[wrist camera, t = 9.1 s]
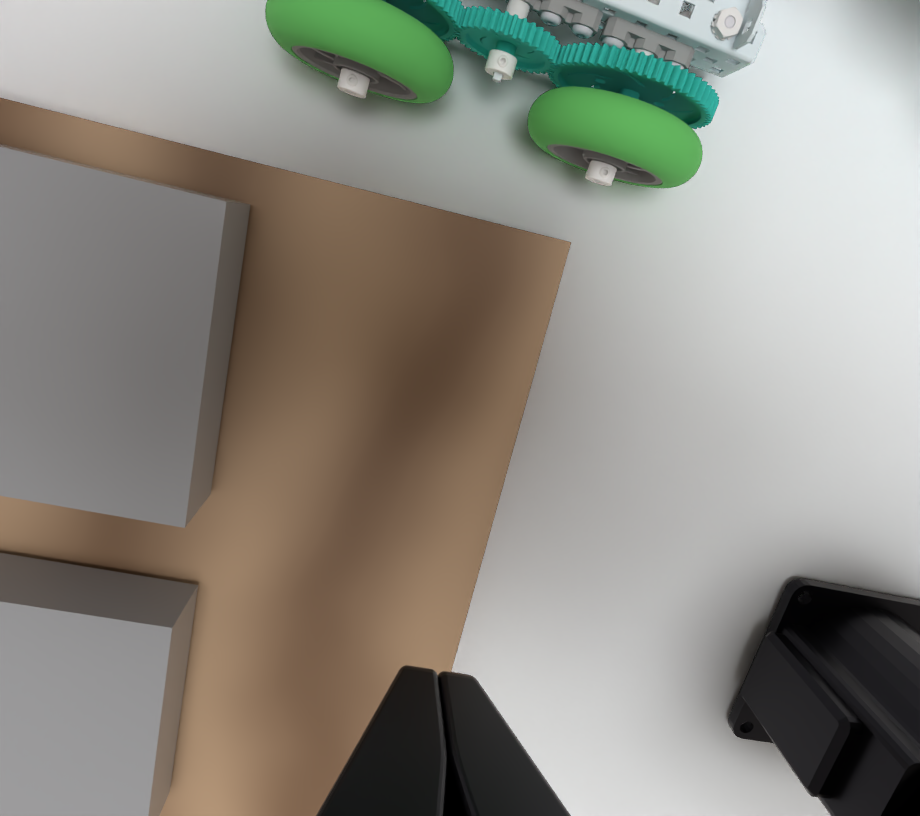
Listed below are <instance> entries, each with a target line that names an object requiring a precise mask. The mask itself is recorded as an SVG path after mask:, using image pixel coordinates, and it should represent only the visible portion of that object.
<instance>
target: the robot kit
mask: <svg viewBox="0 0 920 816" xmlns="http://www.w3.org/2000/svg"><path fill="white" fill-rule="evenodd" d="M766 1H767V0H506V2H507V3H508V6H507V9H506V11H505V13H502V12H501V11H500V10H499V9H497V8H496V10H495V11H493V10H492V9H491V8H490V7H487V8H486V9H485V8H483V7H482V6H479V7H478V8H477V7H475V6H472V8H470V7H466V9H464V6H463V5H461V3H462V2H461V1H459V0H426V2H424V0H267V3H266V10H265V12H266V21H267V25H268V28H269V30H270V32H271V34H272V36H273V37H274V39H275V40H276V42H277V43H278V44H279V45H280V46H281V47H282V48H283V49H284V50H285V51H287V52H288V53H289V54H291V55H292V56H294V57H295V58H297V59H298V60H300V61H301V62H303V63H305V64H306V65H308V66H310V67H312V68H314V69H316V70H318V71H320V72H322V73H324V74H326V75H328V76H330V77H333V78H335V79H337V80H339V81H338V85H337V88H338V89H340V90H341V91H343V92H345V93H347V94H350V95H352V96H355V97H359V98H366V94H367V91H368V92H371V93H374V94H377V95H380V96H383V97H387V98H391V99H394V100H399V101H403V102H410V103H429V102H433V101H435V100H438V99H439V98H441V97H442V96H443V95H444V94H445V93H446V92H447V90H448V89H449V87H450V85H451V83H452V80H453V68H454V67H453V61H452V58H451V55H450V52H449V51H448V49H447V47H446V45H445V44H444V43H443V42H445V40H446V41H449V40H453V39H456V37H457V40H460V43H461V44H465V47H466V48H471V49H470V51H472V52H477V55H483V56H484V58H485V59H487V62H486V66H485V71H486V72H487V73H489V74H490V75H492V76H493V78H492V80H493V81H495V82H498V83H500V81H501V79H504V80H511V79H512V77H513V74H514V70H518V69H521V70H522V71H523V72H526V71H528V72H530V73H533V72H535V73H537V74H540V72H541V73H543V74H545V73H546V72H547V73H548V75H549V78H551V79H550V81H553V84H555V85H556V87H558V88H555V89H552V90H549V91H547V92H545V93H543V94H542V95H540V96H539V97H538V98H537V99H536V100H535V102H534V103H533V105H532V106H531V109H530V111H529V114H528V130H529V133H530V136H531V138H532V139H533V141H534V142H535V143H536V144H537V146H538V147H540V148H541V149H542V150H543V151H545V152H546V153H548V154H550V155H551V156H553V157H555V158H557V159H559V160H561V161H563V162H565V163H567V164H570V165H572V166H574V167H577V168H579V169H582V170H585V171H587V173H586V176H585V178H586V179H587V180H589V181H591V182H594V183H597V184H600V185H604V186H611V184H612V182H613V180H616V181H620V182H624V183H628V184H633V185H638V186H644V187H651V188H671V187H676V186H679V185H681V184H684V183H685V182H687V181H688V180H689V179H691V178H692V177H693V176H694V174H695V173H696V172H697V170H698V168H699V166H700V164H701V160H702V145H701V142H700V140H699V138H698V136H697V134H696V133H695V132H694V130H693V129H692V128H694V129H697V127H698V128H701V127H702V126H703V127H705V125H708V124H709V123H711V121H712V119H713V116H714V114H715V111H716V109H717V106H718V104H719V100H718V99H719V97H717V93H715V90H714V89H711V88H712V86H710V85H707V83H708V82H705V81H701V80H702V78H701V77H695V75H696V74H695V73H688V71H689V70H688V68H689V66H690V65H692V66H694V67H697V68H699V69H702V70H704V71H707V72H709V73H712V74H714V75H717V76H719V77H725V76H727V75H729V74H731V73H733V72H735V71H737V70H739V69H741V68H744V67H746V66H748V65H750V64H752V63H754V61H755V59H756V57H757V54H758V52H759V49H760V47H761V45H762V42H763V40H764V37H765V35H766V31H765V28H764V25H763V23H760V21H761V18H762V16H763V13H764V11H765V9H766V4H765V3H766ZM683 2H685V3H688V4H690V5H691V8H690V11H683V12H680V10H681V7H682V4H683ZM605 7H606V8H609V10H607V9H605ZM532 10H533V11H535V12H538V15H539V16H540V17H541V20H542V21H543V22H544V23H545V24H547V25H549V26H557V25H559V24H563V23H565V24H568V25H569V27H570V28H571V29H572V31H573V34H574V35H576V36H577V37H579V38H583V39H586V38H589V37H591V36H594V35H595V34H596V33H597V31H598V28H600V29H602V32H601V35H600V38H599V39H600V40H601V41H602V42H603V46H601V45H600V44H598V43H596V42H595V45H592V44H591V43H589V42H587V44H586V45H585V44H583V43H581V42H580V43H579V45H578V44H576V43H573V45H570V44H568V45H567V46H564V45H563V47H562V48H561V45H560V44H559V41H558V40H555V38H556V37H555V36H551V35H550V32H549V31H543V30H544V28H543V27H536V23H534V22H531V23H529V22H527V15H528V12H529V11H530V12H531V11H532ZM679 12H680V13H679ZM601 21H603V22H605V23H602V22H601ZM747 29H749V30H748V31H747ZM746 31H747V32H746ZM626 48H628V49H630V51H629V50H627V49H626ZM713 67H717V68H719V69H722V70H718V69H716V68H713ZM593 85H594V87H591V86H593ZM673 91H675V92H676V93H674V94H672V93H673Z"/></svg>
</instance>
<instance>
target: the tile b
mask: <svg viewBox="0 0 920 816" xmlns="http://www.w3.org/2000/svg"><path fill="white" fill-rule="evenodd" d="M249 212H250V204H246V203H242V202H238V201H234V200H230V199H226V198H222V197H218V196H214V195H210V194H205V193H201V192H197V191H193V190H189V189H185V188H181V187H177V186H173V185H169V184H165V183H160V182H156V181H152V180H148V179H144V178H140V177H136V176H132V175H128V174H124V173H120V172H115V171H111V170H107V169H103V168H99V167H95V166H91V165H87V164H83V163H79V162H75V161H70V160H66V159H62V158H58V157H54V156H50V155H46V154H42V153H38V152H34V151H29V150H25V149H21V148H17V147H13V146H9V145H5V144H1V143H0V496H5V497H10V498H16V499H22V500H28V501H33V502H39V503H45V504H50V505H56V506H62V507H68V508H73V509H79V510H85V511H91V512H96V513H102V514H108V515H113V516H119V517H125V518H131V519H136V520H142V521H148V522H154V523H159V524H165V525H171V526H177V527H182V528H185V527H186V526H187V524H188V523H189V522H190V521H191V519H192V518H193V517H194V515H195V514H196V513H197V511H198V510H199V509H200V507H201V506H202V505H203V504H204V502H205V501H206V500H207V498H208V497H209V496H210V494H211V488H212V481H213V474H214V466H215V459H216V452H217V444H218V437H219V430H220V423H221V415H222V408H223V401H224V394H225V386H226V379H227V372H228V365H229V357H230V350H231V343H232V335H233V328H234V321H235V314H236V306H237V299H238V292H239V285H240V277H241V270H242V263H243V256H244V248H245V241H246V234H247V227H248V219H249Z"/></svg>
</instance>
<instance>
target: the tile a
mask: <svg viewBox="0 0 920 816" xmlns="http://www.w3.org/2000/svg"><path fill="white" fill-rule="evenodd" d="M197 590H198V585H195V584H189V583H182V582H176V581H170V580H164V579H158V578H152V577H146V576H140V575H133V574H127V573H121V572H115V571H109V570H103V569H97V568H91V567H84V566H78V565H72V564H66V563H60V562H54V561H48V560H41V559H35V558H29V557H23V556H17V555H11V554H5V553H0V816H159V815H160V813H161V811H162V809H163V806H164V804H165V802H166V799H167V797H168V795H169V793H170V786H171V779H172V772H173V765H174V757H175V750H176V743H177V735H178V728H179V721H180V714H181V706H182V699H183V692H184V685H185V677H186V670H187V663H188V656H189V648H190V641H191V634H192V626H193V619H194V612H195V605H196V597H197Z"/></svg>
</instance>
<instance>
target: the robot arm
mask: <svg viewBox="0 0 920 816" xmlns="http://www.w3.org/2000/svg"><path fill="white" fill-rule="evenodd" d="M803 592H805V593H804V594H803V595H802V596H801V597H798V596H799V595H800V594H801V593H803ZM728 724H729V726H730V728H731V729H732V731H733V733H734V734H735V735H736V736H737V737H739V738H743V739H749V740H756V741H763V742H770V743H774V744H775V745H776V747H777V748H778V750H779V751H780V753H781V754H782V756H783V757H784V758H785V760H786V761H787V763H788V764H789V766H790V767H791V769H792V770H793V772H794V773H795V775H796V776H797V777H798V779H799V780H800V782H801V783H802V785H803V786H804V788H805V789H806V791H807V792H808V793H809V794H810V795H811V796H813V797H818V798H819V799H820V801H821V802H822V804H823V805H824V806H825V808H826V809H827V811H828V812H829V814H830V815H831V816H920V600H915V599H909V598H904V597H899V596H893V595H888V594H883V593H877V592H872V591H867V590H862V589H856V588H851V587H846V586H840V585H835V584H830V583H824V582H819V581H814V580H808V579H796V580H793V581H792V582H790V583H789V584H788V585H787V586H786V588H785V590H784V592H783V594H782V597H781V599H780V601H779V603H778V606H777V608H776V610H775V613H774V615H773V617H772V619H771V622H770V624H769V626H768V628H767V631H766V633H765V635H764V638H763V640H762V642H761V644H760V647H759V649H758V651H757V654H756V656H755V658H754V660H753V663H752V665H751V667H750V669H749V672H748V674H747V676H746V679H745V681H744V683H743V685H742V688H741V690H740V692H739V695H738V697H737V699H736V701H735V704H734V706H733V708H732V710H731V713H730V715H729V718H728ZM316 816H571V815H570V814H569V813H568V811H567V810H566V808H565V807H564V805H563V804H562V802H561V801H560V799H559V798H558V797H557V795H556V794H555V792H554V791H553V789H552V788H551V786H550V785H549V784H548V782H547V781H546V779H545V778H544V776H543V775H542V773H541V772H540V771H539V769H538V768H537V766H536V765H535V763H534V762H533V760H532V759H531V757H530V756H529V755H528V753H527V752H526V750H525V749H524V747H523V746H522V744H521V743H520V742H519V740H518V739H517V737H516V736H515V734H514V733H513V731H512V730H511V729H510V727H509V726H508V724H507V723H506V721H505V720H504V718H503V717H502V716H501V714H500V713H499V711H498V710H497V708H496V707H495V705H494V704H493V702H492V701H491V700H490V698H489V697H488V695H487V694H486V692H485V691H484V689H483V688H482V687H481V685H480V684H479V682H478V681H477V680H476V679H475V678H474V677H473V676H471V675H467V674H461V673H454V672H448V671H442V672H440V673H439V674H438V675H437V673H436V672H435V671H434V670H433V669H429V668H423V667H416V666H410V665H405V666H402V667H401V668H400V669H399V671H398V673H397V675H396V676H395V678H394V680H393V682H392V683H391V685H390V687H389V689H388V690H387V692H386V694H385V696H384V697H383V699H382V701H381V703H380V704H379V706H378V708H377V710H376V711H375V713H374V715H373V717H372V718H371V720H370V722H369V724H368V725H367V727H366V729H365V731H364V732H363V734H362V736H361V738H360V740H359V741H358V743H357V745H356V747H355V748H354V750H353V752H352V754H351V755H350V757H349V759H348V761H347V762H346V764H345V766H344V768H343V769H342V771H341V773H340V775H339V776H338V778H337V780H336V782H335V783H334V785H333V787H332V789H331V790H330V792H329V794H328V796H327V797H326V799H325V801H324V803H323V804H322V806H321V808H320V810H319V811H318V813H317V815H316Z"/></svg>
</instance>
